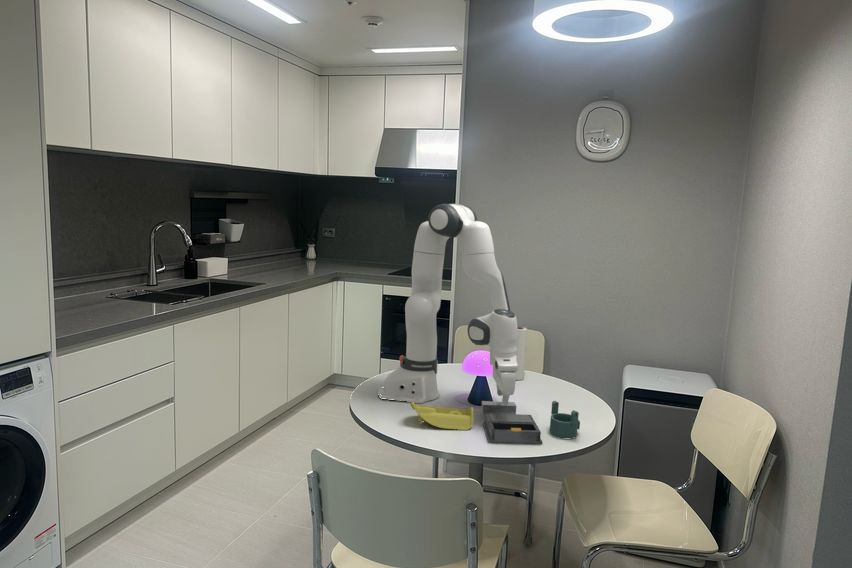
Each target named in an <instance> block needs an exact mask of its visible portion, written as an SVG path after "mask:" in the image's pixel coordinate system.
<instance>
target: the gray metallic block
mask: <svg viewBox="0 0 852 568" xmlns="http://www.w3.org/2000/svg"><path fill="white" fill-rule="evenodd" d="M486 413H488V414H517V404H516V402H514V401H508V405H503V404H502V401H490V400H481V410H480V416H481V419H482V420H485V415H486Z"/></svg>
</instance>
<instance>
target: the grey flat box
mask: <svg viewBox="0 0 852 568" xmlns="http://www.w3.org/2000/svg"><path fill="white" fill-rule="evenodd" d="M484 420H485V421H484V422H482V426H483V427H482V428H483V429H484V433H485V435H486V439H487V442H488V444H489V443H490V444H512V445H514V444H517V445H519V444H520V445H521V444H522V445H543V440H542V438H541V436H542V435H541V434H542V431H541V430H540V429H539V427H538V425H537V423H536V421H535V419H534V417H533V416H532V414H518V413H516V414H488V413H486V415H485V419H484Z"/></svg>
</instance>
